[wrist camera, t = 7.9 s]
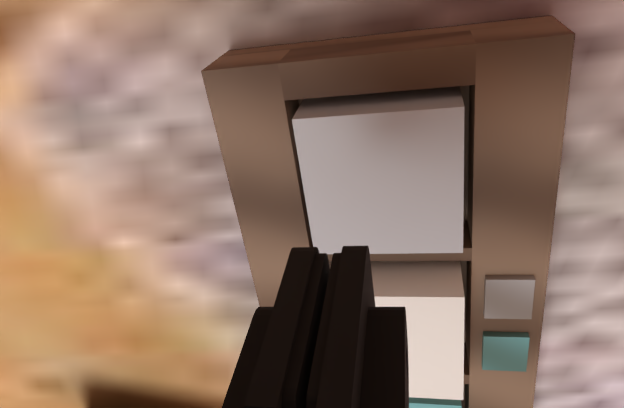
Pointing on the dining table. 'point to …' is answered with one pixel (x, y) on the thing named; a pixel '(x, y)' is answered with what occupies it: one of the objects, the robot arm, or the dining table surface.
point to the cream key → (427, 321)
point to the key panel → (477, 166)
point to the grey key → (384, 170)
